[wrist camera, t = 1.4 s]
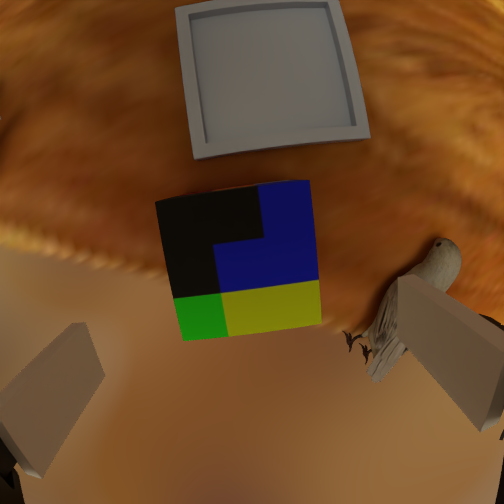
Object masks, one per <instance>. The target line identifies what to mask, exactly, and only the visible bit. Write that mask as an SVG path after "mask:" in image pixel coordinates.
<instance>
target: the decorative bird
mask: <svg viewBox="0 0 504 504" xmlns="http://www.w3.org/2000/svg"><path fill="white" fill-rule="evenodd" d="M461 261H462V260H461V254H460V250H459V248H458V247H457V246H456V245H455V244H454V243H453V242H452V241H451V240H449V239H446V238H437V239H436V240H435V242H434V244H433V247H432V248H431V249H430V251H429V253H428V255H427V257H426V258H425V260H424V261H423V262H422V263H420V264H418V265H416V266H415V267H413V268H412V269H411V270H410V271H409V272H407V273H405V274H404V275H402V276H406V275H411V274H414V275H416V276H418V277H419V278H421V279H423V280H424V281H426V282H428V283H429V284H431V285H433V286H434V287H436V288H438V289H439V290H441V291H442V292H444V293H445V292H446V291H447V289H448V288H449V287H450V285H451V284H452V283H453V281H454V280H455V278H456V277H457V275H458V273H459V271H460V267H461ZM397 316H398V279H396V280H395V281H394V282H393V283H392V284H391V285H390V287H389V288H388V290H387V291H386V293H385V295H384V297H383V299H382V301H381V304H380V306H379V309H378V313H377V316H376V318H375V320H374V322H373V323H372V325H371V326H370V327H369V328H368V329H367V330H366V331H365V332H363V333H362V335H357V336H356V337H354V338H353V339H352V340H351V338H352V336H351V334H350V333H349V336H348V334H346V333H345V332H344V331H343V332H344V333H345V335H346V338H347V344H348V345H349V348H350V349H349V352H350V351H351V348H352V344H353V342H354V341H355V340H356V339H357V338H360V337H366V336H368V337H369V341H370V345H371V349H370V350H369V351H367V346H366V345H365V348H364V346H363V345H362V344H360V343H359V344H360V345H361V346H362V349H363V355H364V356H365V358H366V363H367V361H368V355H369V353H370V352H372V353H373V362H372V363H371V365H370V366H369V367H368V369H367V373H368V374H369V375H370V376H372V378H371V379H372V381H373V382H375V383H377V382H378V381H379V382H381V380H382V379H383V378H384V376H385V375H386V374H387V373H389V371H390V370H391V368H392V367H394V365H395V364H396V363H397V361H398V359H399V358H400V356H402V355H403V354H404V353H405V352H407V351H408V348H407V347H406V346H405V345H404V344H403V343H402V342H401V341H400V340H399V339H398V337H397ZM366 363H365V364H366Z"/></svg>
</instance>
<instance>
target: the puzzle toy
mask: <svg viewBox="0 0 504 504" xmlns="http://www.w3.org/2000/svg"><path fill="white" fill-rule="evenodd" d="M155 205H156V211H157V217H158V223H159V229H160V235H161V240H162V246H163V251H164V256H165V261H166V266H167V271H168V276H169V281H170V286H171V290H172V295H173V299H174V304H175V308H176V313H177V317H178V321H179V325H180V329H181V333H182V338H183V341H189V340H200V339H210V338H220V337H229V336H237V335H245V334H252V333H261V332H269V331H276V330H282V329H290V328H296V327H303V326H309V325H315V324H321V323H322V321H321V303H320V288H319V274H318V261H317V249H316V238H315V228H314V217H313V208H312V199H311V190H310V181H309V180H283V181H274V182H266V183H258V184H250V185H243V186H236V187H229V188H222V189H215V190H208V191H202V192H195V193H189V194H183V195H179V196H175V197H171V198H168V199H164V200H160V201H156V202H155Z"/></svg>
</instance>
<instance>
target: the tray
mask: <svg viewBox="0 0 504 504" xmlns="http://www.w3.org/2000/svg"><path fill="white" fill-rule="evenodd" d="M175 14H176V24H177V34H178V43H179V52H180V61H181V69H182V77H183V85H184V93H185V100H186V108H187V115H188V122H189V129H190V136H191V143H192V150H193V156H194V160H197V161H200V160H205V159H211V158H217V157H223V156H229V155H235V154H242V153H248V152H255V151H262V150H270V149H278V148H286V147H294V146H303V145H313V144H323V143H335V142H348V141H362V140H365V139H369V138H371V137H370V131H369V125H368V119H367V113H366V108H365V103H364V98H363V93H362V88H361V83H360V79H359V74H358V70H357V65H356V61H355V57H354V53H353V49H352V45H351V41H350V38H349V34H348V30H347V27H346V23H345V20H344V17H343V13H342V10H341V7H340V3H339V0H213V1H207V2H201V3H196V4H191V5H186V6H181V7H177V8H175Z"/></svg>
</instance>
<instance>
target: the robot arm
mask: <svg viewBox="0 0 504 504" xmlns="http://www.w3.org/2000/svg"><path fill="white" fill-rule="evenodd" d="M397 337H398V339H399V340H400V341H401V342H402V343H403V344H404V345H405V346H406V347H407V348H408V350H409V351H410V352H411V353H412V354H413V355H414V356H415V357H416V358H417V360H418V361H419V362H420V363H421V364H422V365H423V366H424V367H425V369H426V370H427V371H428V372H429V373H430V374H431V375H432V376H433V378H434V379H435V380H436V381H437V382H438V383H439V384H440V386H441V387H442V388H443V389H444V390H445V391H446V393H447V394H448V395H449V396H450V397H451V398H452V400H453V401H454V402H455V403H456V404H457V405H458V407H460V409H461V410H462V411H463V413H464V414H465V415H466V416H467V417H468V419H469V420H470V421H471V422H472V423H473V425H474V426H475V427H476V428H477V429H478V430H479V432H482V431H484V430H486V429H488V428H490V427H491V426H493V425H495V424H497V423H498V422H499V420H500V417H501V415H502V412H503V409H504V325H501V323H499V322H497V321H496V320H494V319H493V318H491V317H488V316H485V315H482V314H477V313H476V312H474V311H473V310H471V309H469V308H468V307H466V306H465V305H463V304H462V303H460V302H458V301H457V300H455V299H454V298H452V297H450V296H449V295H447V294H446V293H444V292H442V291H441V290H439V289H438V288H436V287H434V286H433V285H431V284H429V283H428V282H426V281H424V280H423V279H421V278H419V277H418V276H416V275H414V274H411V275H406V276H401V277H398V316H397ZM104 377H105V373H104V371H103V369H102V366H101V363H100V361H99V358H98V356H97V353H96V351H95V348H94V345H93V342H92V339H91V337H90V334H89V331H88V328H87V325H86V323H85V322H83V323H72V324H71V325H70V326H68V327H67V328H66V329H65V330H64V331H63V332H62V333H61V334H60V335H59V336H58V337H56V338H55V339H54V340H53V341H52V342H51V343H50V344H49V345H48V346H47V347H46V348H45V349H44V350H43V351H42V352H40V353H39V354H38V355H37V356H36V357H35V358H34V359H33V360H32V361H31V362H30V363H29V364H28V365H27V366H26V367H25V368H24V369H23V370H22V371H21V372H20V373H19V374H18V375H17V376H16V377H15V378H14V379H13V380H12V381H11V382H10V383H9V384H8V385H7V386H6V387H5V388H4V389H3V390H2V391H1V392H0V504H25V503H24V498H23V494H22V490H21V484H20V479H19V475H18V473H17V471H16V470H15V469H14V468H13V467H14V466H15V464H16V463H18V464H19V465H20V466H21V468H22V469H23V470H24V472H25V473H26V474H28V475H31V476H34V477H37V478H41V479H42V478H43V477H44V475H45V473H46V471H47V470H48V468H49V466H50V465H51V463H52V461H53V459H54V457H55V456H56V454H57V452H58V451H59V449H60V447H61V446H62V444H63V443H64V441H65V439H66V438H67V436H68V434H69V432H70V431H71V429H72V428H73V426H74V425H75V423H76V421H77V420H78V418H79V416H80V415H81V413H82V412H83V410H84V408H85V407H86V405H87V404H88V402H89V401H90V399H91V397H92V396H93V394H94V393H95V391H96V390H97V388H98V387H99V385H100V384H101V382H102V380H103V379H104ZM503 438H504V430H503V432H502V434H501V437H500V440H503ZM495 504H504V458H503V465H502V471H501V477H500V483H499V488H498V493H497V497H496V502H495Z"/></svg>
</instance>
